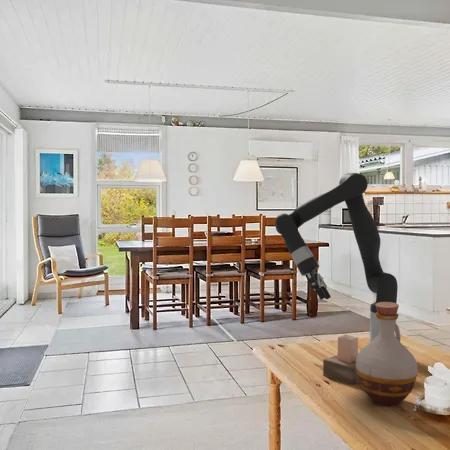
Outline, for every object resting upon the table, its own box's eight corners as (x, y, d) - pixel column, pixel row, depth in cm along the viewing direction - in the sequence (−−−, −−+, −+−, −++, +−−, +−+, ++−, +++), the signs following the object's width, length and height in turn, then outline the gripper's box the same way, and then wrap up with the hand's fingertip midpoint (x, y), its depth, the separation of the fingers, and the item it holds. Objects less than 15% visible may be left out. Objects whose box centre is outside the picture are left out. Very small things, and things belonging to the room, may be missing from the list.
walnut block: (343, 369, 177) (343, 352, 177) (372, 377, 168) (372, 360, 168) (323, 376, 170) (323, 359, 169) (352, 385, 161) (352, 368, 160)
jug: (371, 385, 160) (372, 295, 159) (426, 398, 149) (428, 302, 148) (345, 403, 145) (346, 304, 144) (404, 419, 134) (406, 312, 133)
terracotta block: (345, 356, 173) (345, 334, 172) (357, 359, 169) (358, 337, 169) (337, 359, 169) (337, 337, 169) (350, 362, 166) (350, 339, 165)
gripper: (308, 254, 176) (330, 293, 171) (317, 257, 189) (338, 293, 184) (291, 264, 178) (312, 303, 173) (301, 266, 191) (321, 303, 186)
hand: (326, 298), depth 178 cm, fingers open, 8 cm apart
